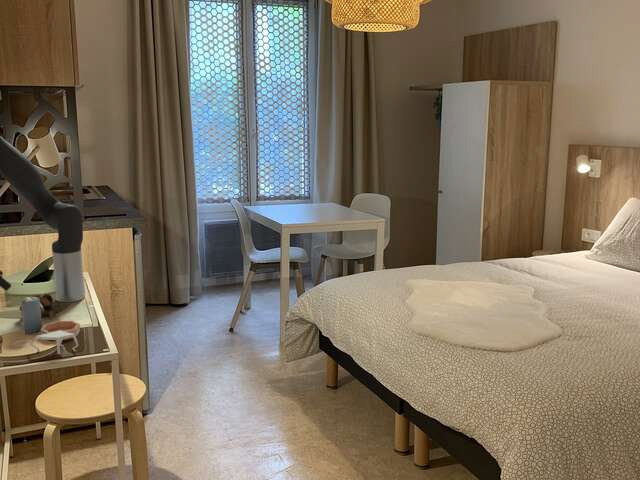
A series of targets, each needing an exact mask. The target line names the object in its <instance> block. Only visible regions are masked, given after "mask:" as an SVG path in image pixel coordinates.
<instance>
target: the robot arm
mask: <svg viewBox="0 0 640 480" xmlns="http://www.w3.org/2000/svg"><path fill="white" fill-rule="evenodd" d="M0 175H1V176H2V177H3V179H4V180H6V182H7V183H9V185H10V186H12V187H13V189H14V190H16V191H17V192H18V194H20V196H22V197H23V199H24V200H26V201H27V202H28V203H29V204H30V205H31V206H32V207H33V209H34V210H35V211H36V213H38V215H39V216H40V217H41V218H42V221H44V222H45V224H46V225H47V226H48V227H49V228H51V229H53V230H56V231H57V233H58V235H57V236H58V237H57V240H56V241H53V242H52V244H51V251H52V253H51V254H52V263H53V276H54V289H55V301H56V302H60V303H73V302H78V301H79V302H80V301H82V300H84V299H85V296H86V295H85V284H84V281H85V280H84V271H83V258H82V257H83V255H82V243H83V240H84V227H83V226H84V225H83V223H84V222H83V214H82V211H81V209H80V208H79V207H78V206H76V205H74V204H70V203H69V204H68V203H64V202H61V201H60V200H58V199H57V198H56V197H55V196H54V195H53V194H52V193H51V192H50V191H49V190H48V189H47V187H46V185H45V184H46V183H45V182H44V179H43V176H42V174H41V173H40V171H39V170H38V168H37V167H36V166H35V165H34V164H33V163H32V161H30V160H29V159H28V157H27V156H25V155H24V154H23V153H22V152H21V151H20V150H19V149H17V148H16V147H14V146H13V145H12V144H11V143H9V142H8V141H7V140H6V139H4V138H3V137H2V136H1V135H0ZM3 274H4V272H3V271H2V270H1V269H0V287H1V288H2V289H3V290H4V291H8V290H9V289H10V288H11V287H12V284H11V283H9V281H7V280H6V279H5V278H4V277H3Z"/></svg>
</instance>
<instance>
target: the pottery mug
mask: <svg viewBox="0 0 640 480" xmlns="http://www.w3.org/2000/svg"><path fill="white" fill-rule="evenodd" d="M32 297H38V298H39V299H40V310H42V309H43V310H44V311H45V312H46V311H47V312H49V311H50V312H49V313H47V314H48V316H49V318H50V320H53V319H54V318H55V317H56V315H57V313H56V311H55V309H54V307H53V304H54V303H53V302H54V299H53V296H51V294H49V293H46V294H44V295H42V296H41V295H40V294H35V295H34V296H33V295H32ZM41 306H42V307H41ZM19 310H20V312H21V316H22V305H20V307H19Z"/></svg>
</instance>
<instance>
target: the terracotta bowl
mask: <svg viewBox="0 0 640 480" xmlns="http://www.w3.org/2000/svg"><path fill="white" fill-rule="evenodd" d="M60 330H61V331H63V332H67V333H73V334H76V337H77V336H78V335H79V334H80V332H81V324H80V323H79V322H77V321H75V320H57V321H56V320H55V321H53V322H49V323H46V324H44V325H42V328H41V332H40V335H43V334H47V333H52V332H56V331H60ZM71 339H73V337H69V338H64V339H63V340H62V341H66V340H67V341H68V340H71Z"/></svg>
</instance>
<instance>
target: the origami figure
mask: <svg viewBox="0 0 640 480" xmlns="http://www.w3.org/2000/svg"><path fill="white" fill-rule="evenodd" d="M69 337H73V338H72V340H74V343H75V344H76V345H75V346H73V347H72V348H71V349H72V350H73V351H74V352H76V349H75V348H77V347H79V343H78V338H77V336H76V334H73V333H67V332H63V331H61V330H60V331H56V332H52V333H47V334H43V335H41V334H39V335H36V336H35V337H34V338H33V340H32V341H31V342H30V343H29V345H30V346H32V348H34V349H36V351H39V352H40V351H41V349H39V348H38V347H37V346H36V345H34V344H35V342H37V341H38V340H43V341H44V340H45V341H49V340H57V341H56V351H57V355H61V347H63V346H64V344H62V342H63V341H64V340H63V339H64V338H69Z"/></svg>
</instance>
